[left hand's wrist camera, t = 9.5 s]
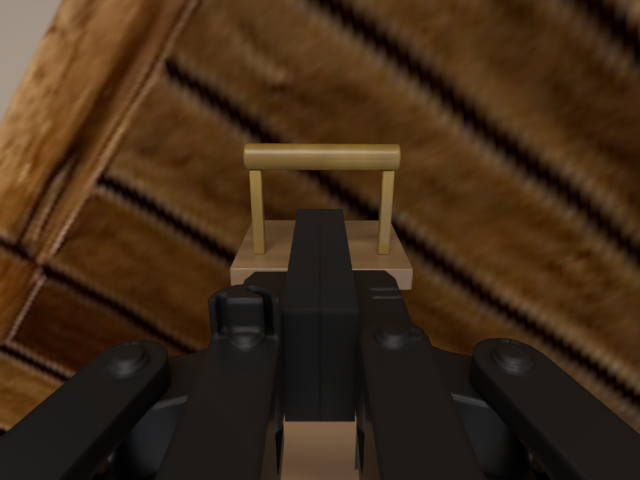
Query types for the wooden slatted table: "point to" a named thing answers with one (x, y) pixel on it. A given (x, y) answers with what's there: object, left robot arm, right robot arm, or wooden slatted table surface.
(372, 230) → the drawer
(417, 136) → the wooden slatted table surface
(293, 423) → the cabinet
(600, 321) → the wooden slatted table surface
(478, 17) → the wooden slatted table surface
